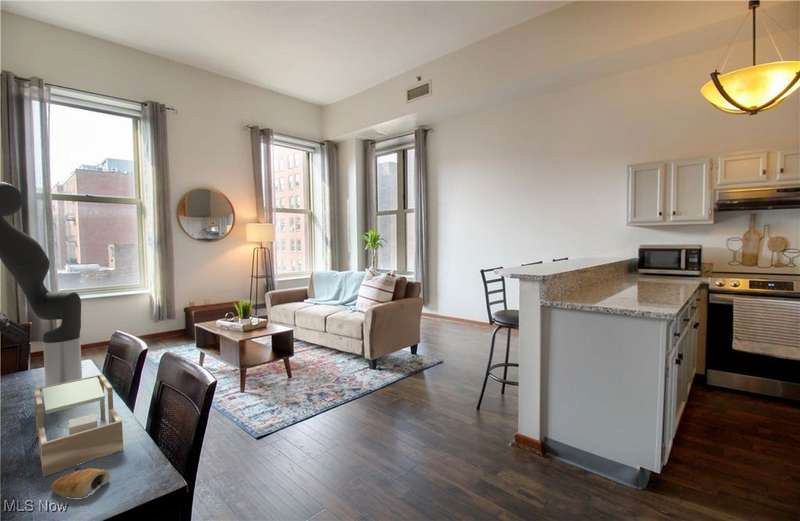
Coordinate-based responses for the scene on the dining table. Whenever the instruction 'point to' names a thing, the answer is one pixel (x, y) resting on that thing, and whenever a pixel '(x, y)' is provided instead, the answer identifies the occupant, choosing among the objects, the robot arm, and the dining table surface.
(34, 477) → the dining table surface
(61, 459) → the trapdoor frame
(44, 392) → the trapdoor
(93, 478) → the pastry
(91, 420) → the white rectangular block
